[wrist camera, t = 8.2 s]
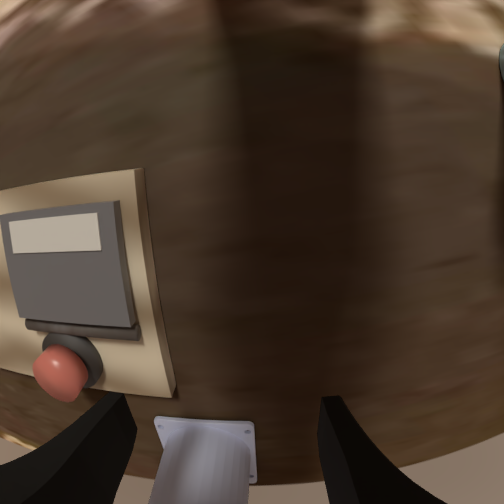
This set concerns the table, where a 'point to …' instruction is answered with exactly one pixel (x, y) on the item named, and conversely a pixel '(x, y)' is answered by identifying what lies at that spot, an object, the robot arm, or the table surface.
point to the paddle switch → (69, 264)
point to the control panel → (84, 335)
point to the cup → (502, 61)
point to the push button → (60, 372)
